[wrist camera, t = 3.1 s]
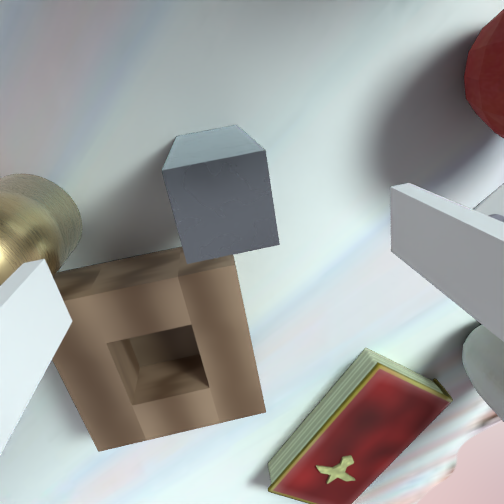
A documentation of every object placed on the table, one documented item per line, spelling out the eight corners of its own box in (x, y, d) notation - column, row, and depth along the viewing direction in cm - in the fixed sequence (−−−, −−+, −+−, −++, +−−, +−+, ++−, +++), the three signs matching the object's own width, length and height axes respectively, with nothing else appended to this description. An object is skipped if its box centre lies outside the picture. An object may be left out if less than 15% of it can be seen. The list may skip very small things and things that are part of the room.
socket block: (229, 236, 34) (235, 264, 29) (256, 369, 41) (266, 412, 35) (54, 273, 33) (26, 308, 28) (111, 402, 40) (98, 451, 35)
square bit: (236, 124, 30) (265, 150, 18) (247, 183, 32) (279, 244, 20) (176, 136, 30) (161, 170, 17) (190, 195, 32) (186, 264, 20)
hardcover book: (435, 377, 46) (457, 403, 42) (334, 484, 52) (345, 516, 48) (363, 341, 42) (380, 366, 38) (262, 461, 48) (268, 494, 44)
